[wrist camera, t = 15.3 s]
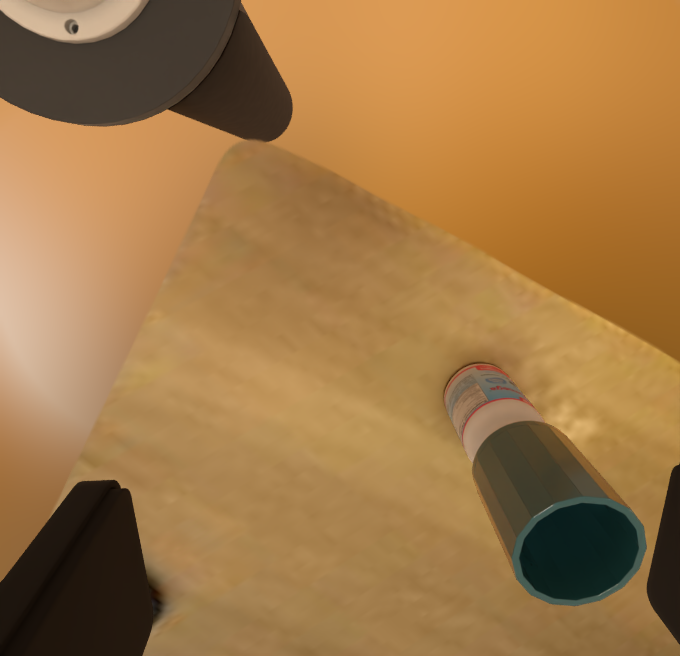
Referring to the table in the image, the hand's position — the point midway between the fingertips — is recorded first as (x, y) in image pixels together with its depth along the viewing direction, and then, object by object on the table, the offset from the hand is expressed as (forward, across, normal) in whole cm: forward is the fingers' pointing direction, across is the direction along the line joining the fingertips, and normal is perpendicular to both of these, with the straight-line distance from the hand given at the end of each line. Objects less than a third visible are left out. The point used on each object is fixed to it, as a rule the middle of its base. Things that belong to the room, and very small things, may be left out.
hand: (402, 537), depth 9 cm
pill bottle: (+32, -12, +14) cm, 37 cm away
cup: (+21, -11, +13) cm, 27 cm away
